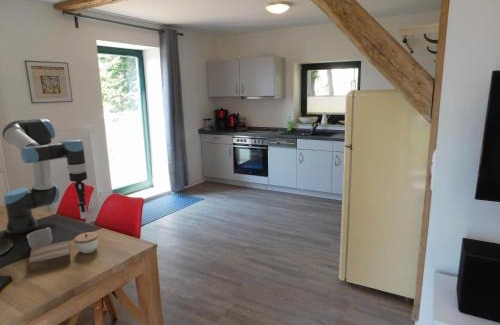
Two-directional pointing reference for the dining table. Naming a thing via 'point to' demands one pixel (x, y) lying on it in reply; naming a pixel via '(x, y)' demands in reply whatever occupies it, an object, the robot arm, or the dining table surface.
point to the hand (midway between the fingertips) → (83, 213)
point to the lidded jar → (86, 242)
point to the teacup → (40, 238)
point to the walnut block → (49, 256)
